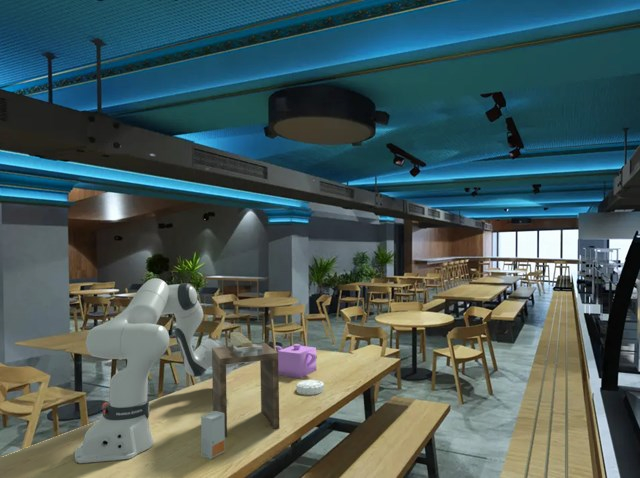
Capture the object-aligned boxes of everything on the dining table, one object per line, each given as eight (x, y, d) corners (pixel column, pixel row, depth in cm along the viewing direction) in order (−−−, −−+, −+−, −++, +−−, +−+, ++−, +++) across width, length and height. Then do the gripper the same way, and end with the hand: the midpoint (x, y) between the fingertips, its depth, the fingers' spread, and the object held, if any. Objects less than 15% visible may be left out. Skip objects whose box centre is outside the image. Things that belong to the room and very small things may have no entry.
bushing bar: (241, 353, 159) (241, 343, 159) (230, 341, 180) (230, 332, 180) (252, 352, 160) (252, 342, 160) (239, 340, 181) (239, 331, 181)
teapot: (283, 366, 243) (283, 339, 243) (324, 372, 230) (324, 343, 230) (266, 373, 230) (265, 344, 230) (308, 379, 217) (307, 349, 217)
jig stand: (221, 438, 151) (220, 350, 152) (213, 419, 169) (211, 339, 169) (280, 429, 159) (278, 344, 159) (266, 411, 176) (265, 335, 176)
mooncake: (291, 393, 198) (291, 384, 198) (304, 385, 209) (304, 377, 209) (316, 396, 193) (316, 388, 193) (328, 388, 203) (328, 380, 203)
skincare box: (211, 459, 137) (210, 419, 137) (201, 456, 139) (200, 416, 139) (225, 451, 142) (225, 412, 142) (215, 448, 144) (214, 410, 144)
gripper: (201, 353, 196) (204, 343, 185) (249, 349, 203) (255, 338, 192) (202, 368, 193) (206, 358, 182) (250, 363, 200) (257, 353, 189)
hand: (231, 348), depth 187 cm, fingers open, 8 cm apart
